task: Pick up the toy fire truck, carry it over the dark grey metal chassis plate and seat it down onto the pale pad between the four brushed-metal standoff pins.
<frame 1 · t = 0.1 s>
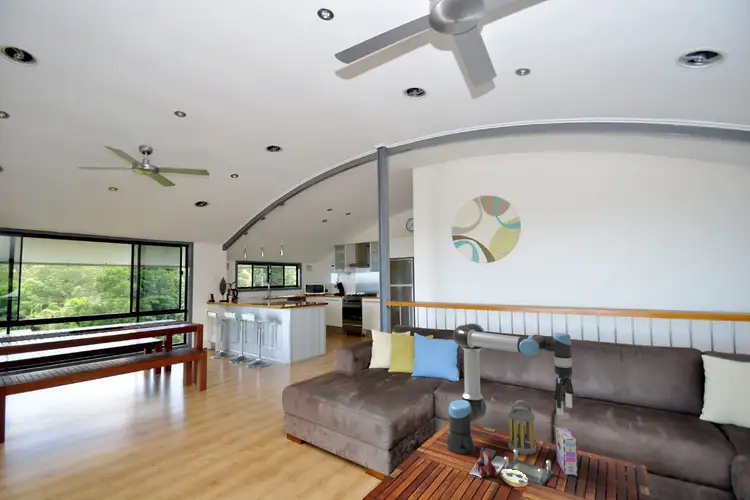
hand: (564, 411, 176), 28 cm above the table, fingers open, 13 cm apart
candy box: (566, 468, 177), on the table
lantern: (522, 448, 198), on the table
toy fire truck: (486, 473, 173), on the table
chassis: (527, 472, 173), on the table
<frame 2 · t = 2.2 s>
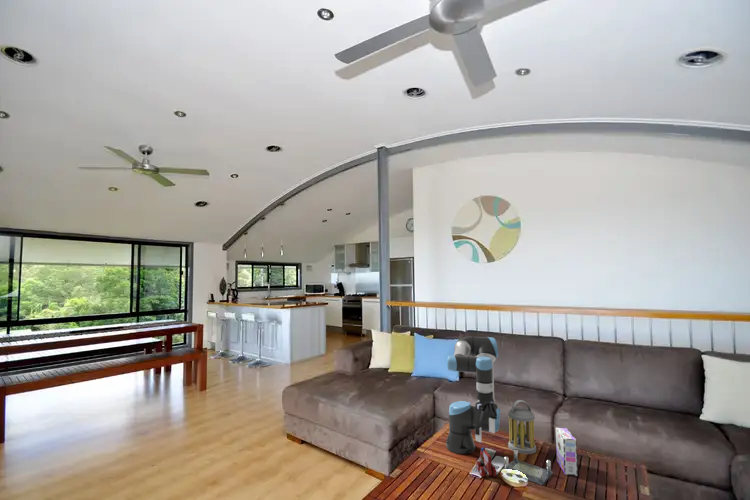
hand: (485, 436, 174), 16 cm above the table, fingers open, 13 cm apart
nothing on the table moved.
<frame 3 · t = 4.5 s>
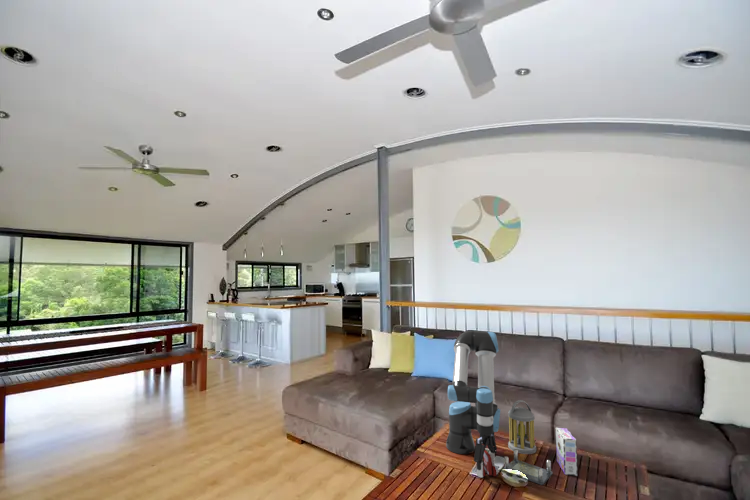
hand: (486, 471, 173), 1 cm above the table, fingers closed on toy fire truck, 11 cm apart
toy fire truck: (486, 473, 173), on the table, touching gripper
everything else where it was.
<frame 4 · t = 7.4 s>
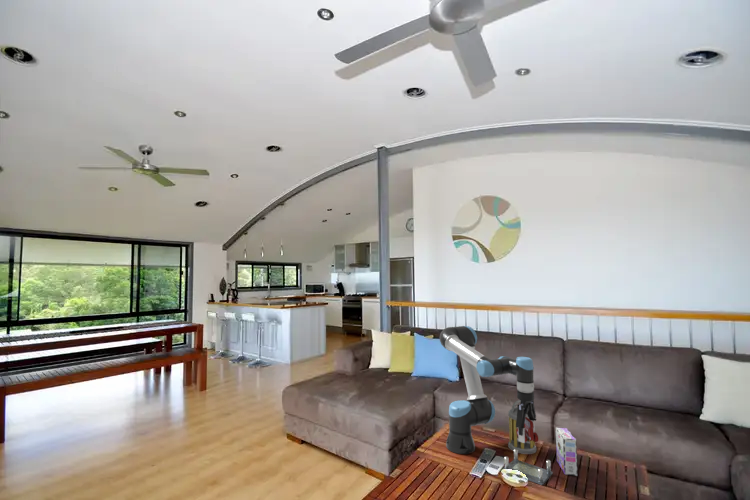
hand: (526, 438, 175), 16 cm above the table, fingers closed on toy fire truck, 11 cm apart
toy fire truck: (526, 439, 175), point 15 cm above the table, touching gripper
everything else where it was.
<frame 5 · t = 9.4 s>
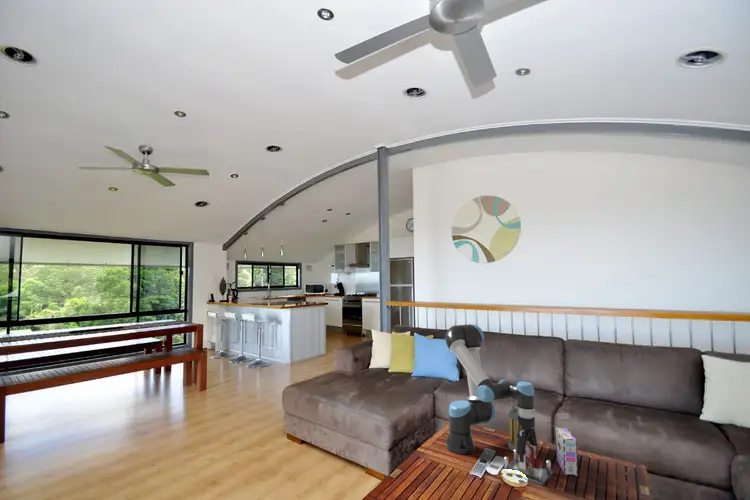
hand: (527, 464, 174), 4 cm above the table, fingers closed on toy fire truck, 11 cm apart
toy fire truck: (527, 465, 174), point 3 cm above the table, touching gripper
everything else where it was.
when the fingers open (3 cm above the table, at t = 10.6 s): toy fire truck drops 1 cm, resting on chassis.
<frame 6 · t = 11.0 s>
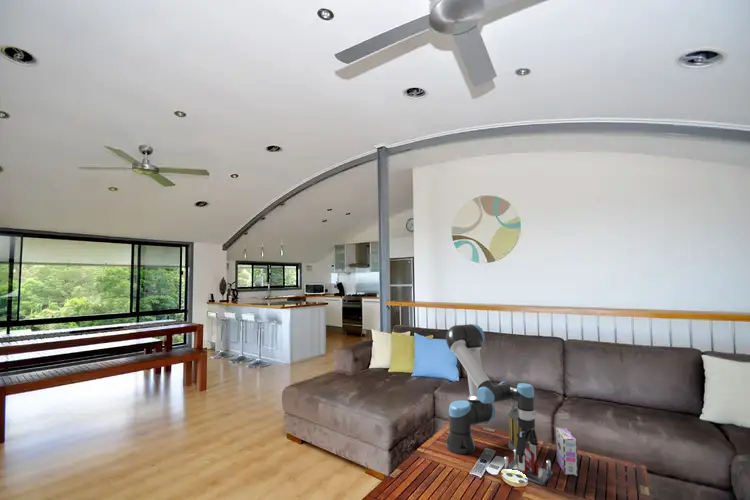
hand: (527, 464, 174), 4 cm above the table, fingers open, 13 cm apart
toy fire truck: (527, 470, 174), point 1 cm above the table, touching chassis
everything else where it was.
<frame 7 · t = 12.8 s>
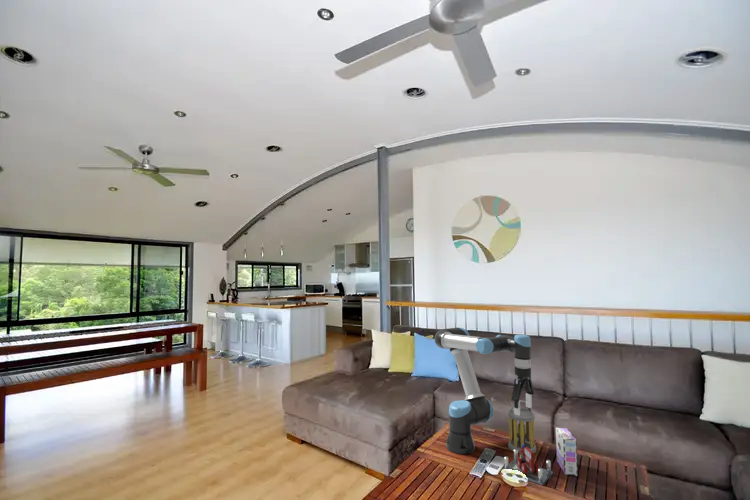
hand: (523, 411, 180), 26 cm above the table, fingers open, 13 cm apart
nothing on the table moved.
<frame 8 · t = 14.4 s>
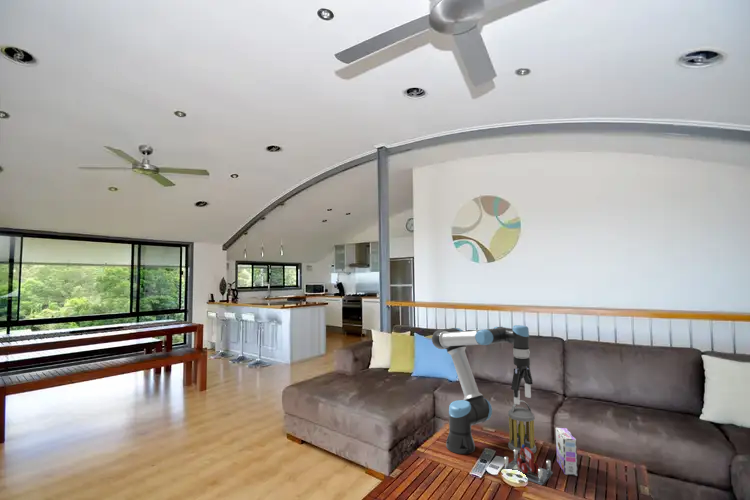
hand: (522, 400, 183), 31 cm above the table, fingers open, 13 cm apart
nothing on the table moved.
at the end: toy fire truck 0.1 cm off-centre on the chassis, point 1.0 cm above the chassis's base; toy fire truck tilted 0°; the gripper is holding nothing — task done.
